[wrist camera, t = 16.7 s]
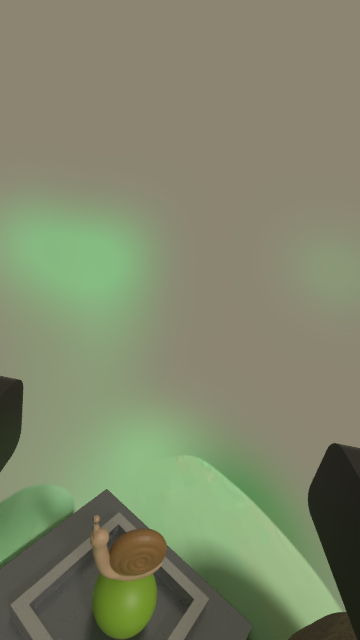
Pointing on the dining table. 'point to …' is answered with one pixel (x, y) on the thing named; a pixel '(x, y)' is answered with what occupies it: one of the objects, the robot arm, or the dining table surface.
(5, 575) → the tray
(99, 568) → the snail figurine
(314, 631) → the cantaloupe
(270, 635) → the dining table surface
